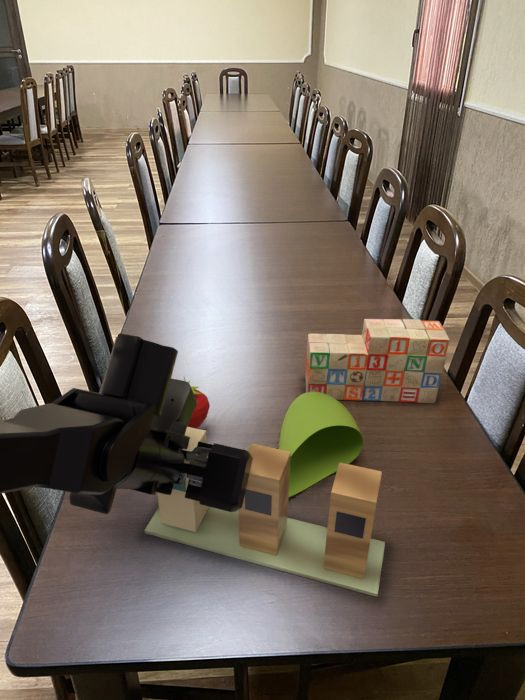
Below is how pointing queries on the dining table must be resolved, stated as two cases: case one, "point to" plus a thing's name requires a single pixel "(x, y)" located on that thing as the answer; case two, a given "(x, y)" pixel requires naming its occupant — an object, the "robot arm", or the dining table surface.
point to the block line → (295, 526)
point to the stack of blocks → (379, 361)
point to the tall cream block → (183, 495)
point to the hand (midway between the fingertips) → (187, 466)
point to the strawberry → (199, 408)
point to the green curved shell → (317, 439)
